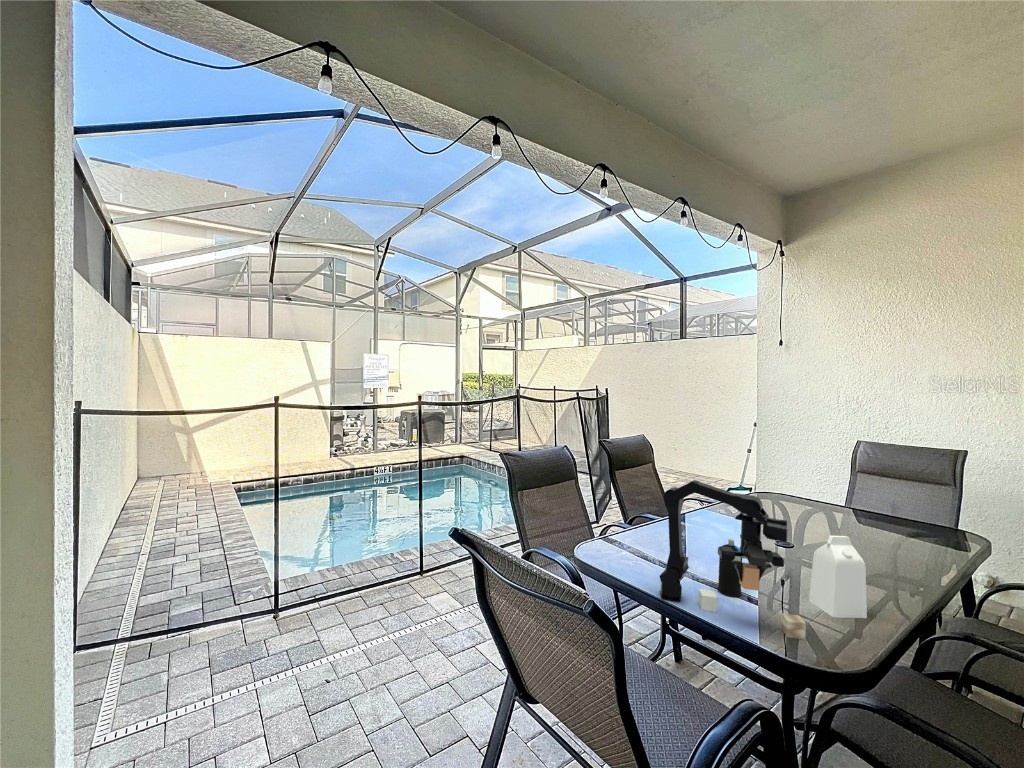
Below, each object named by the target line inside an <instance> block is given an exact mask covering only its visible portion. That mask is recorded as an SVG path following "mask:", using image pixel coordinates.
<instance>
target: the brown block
mask: <svg viewBox="0 0 1024 768" xmlns="http://www.w3.org/2000/svg"><path fill="white" fill-rule="evenodd" d="M742 563H743V565H742V576H743V578H742V581H740V579H739V583H740V584H741V588H742V589H743V590H750V591H758V592H759V590H760V589H759V588H760V586H759V585H760V581H759V568H758V567H757V566H756V565H750V564H749V562H743V561H742Z"/></svg>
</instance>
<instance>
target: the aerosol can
mask: <svg viewBox="0 0 1024 768" xmlns="http://www.w3.org/2000/svg"><path fill="white" fill-rule="evenodd" d="M722 546H724V547H731V549H732V550H733V551H738V552H740V547H738V546H736V545H735V539H733V538H728V543H727V544H723V545H722ZM718 556H719V555H718ZM718 561H719V562H718V586H717V592H718V593H720V594H722V595H723V596H726V597H730V598H740V597H742V586H741V584H740V583H739V576H738V573H737V570H736V567H735V564H734V563H732V561H728V560H723V559H721V558H720V556H719V558H718ZM741 562H743V558H741Z"/></svg>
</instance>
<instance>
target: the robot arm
mask: <svg viewBox="0 0 1024 768" xmlns="http://www.w3.org/2000/svg"><path fill="white" fill-rule="evenodd" d="M693 494H697V495H700V496H703V497H706V498H709V499H712V500H714V501H717V502H720V503H723V504H727V505H728V506H731V507H732V508H734V509H735V510H737V511H738V512H740V513H738V514H737V515H736V516H735V517H734V519H735V520H737V521H741V526H740V529H741V530H740V534H739V537H740V546H739V549H740V552H738V551H733V550H732V549H731V547H724V546H723V545H720V546H718V547H717V555H718V556H720V558H721V559H723V560H728V561H732V563H734V564H735V567H736V570H737V573H738V576H739V579H740V581H742V578H743V576H742V565H743V563H744V562H743V561H742V562H743V563H742V562H741V558H742V559H746V560H747V563H749V564H750V565H756V566H757V567H758V568H759V582H760V581H761V578H762V576H763V574H764V573H765V571H767V569H771V568H772V567H773V566H774V567H780V568H784V567H785V559H784V557H782V556H781V555H780V554H779V553H778V552H775V551H772V550H769V549H763V544H762V539H761V537H762V536H763V535H764V537H766V539H769V540H772V541H776V542H777V541H778V542H782V543H786V544H787V543H788V536H789V529H788V521H787V519H786V520H785V519H778V518H772V517H769V514H768V513H767V512H766V510H765V508H764V507H763V502H762V500H761V499H760V498H759V497H757V496H755V495H751V494H750V495H749V494H744V493H742V494H741V493H734V492H731V491H727V490H725V489H722V488H718V487H715V486H712V485H710V484H707V483H704V482H701V481H699V480H697V479H693V480H691V481H690V482H688V483H686V484H684V485H681V486H680V487H678V486H673V487H670V488H669V489H667V490H666V491H665V492H664V493H663V503H664V508H665V509H666V511H667V514H668V520H667V521H668V540H669V541H668V543H669V555H668V558H667V561H666V567H665V569H664V570H663V572H661V573H660V575H659V579H660V589H659V593H660V598H661V597H662V598H661V599H662V600H664V599H666V601H673V602H679V603H680V602H681V598H682V589H683V587H682V583H681V581H680V580H681V579H682V578H683V577H684V576H685V574H686V573H687V571H688V570H689V569H690V566H689V556H685V555H684V552H683V542H682V541H683V536H682V515H681V514H682V509H683V506H684V500H685V498H686V497H688V496H690V495H693ZM772 565H773V566H772Z"/></svg>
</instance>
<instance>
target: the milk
mask: <svg viewBox="0 0 1024 768" xmlns="http://www.w3.org/2000/svg"><path fill="white" fill-rule="evenodd" d="M866 572H867V571H866V562H865V561H864V560H863V558H862V556H861V555H860V554H859V552H858V551H857V550H856V548H855V547H854V546H853V543H852V542H851V539H850V537H849V536H847V535H829V537H828V539H827V542H826V543H825V544H823V545H822V546H820V547H818V548H817V549H815V550H814V552H813V559H812V567H811V575H810V584H809V585H810V587H809V593H808V594H809V596H808V602H810V603H812V604H813V605H814V606H816V607H817V608H818V609H820V610H822V611H823V612H825V613H826V614H827V615H829V616H830V617H832V618H837V619H838V618H840V619H841V618H842V619H843V618H844V619H846V618H848V619H850V618H851V619H867V618H868V616H867V614H868V610H867V609H868V608H867V580H866V579H867V578H866V577H867V573H866Z"/></svg>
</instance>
